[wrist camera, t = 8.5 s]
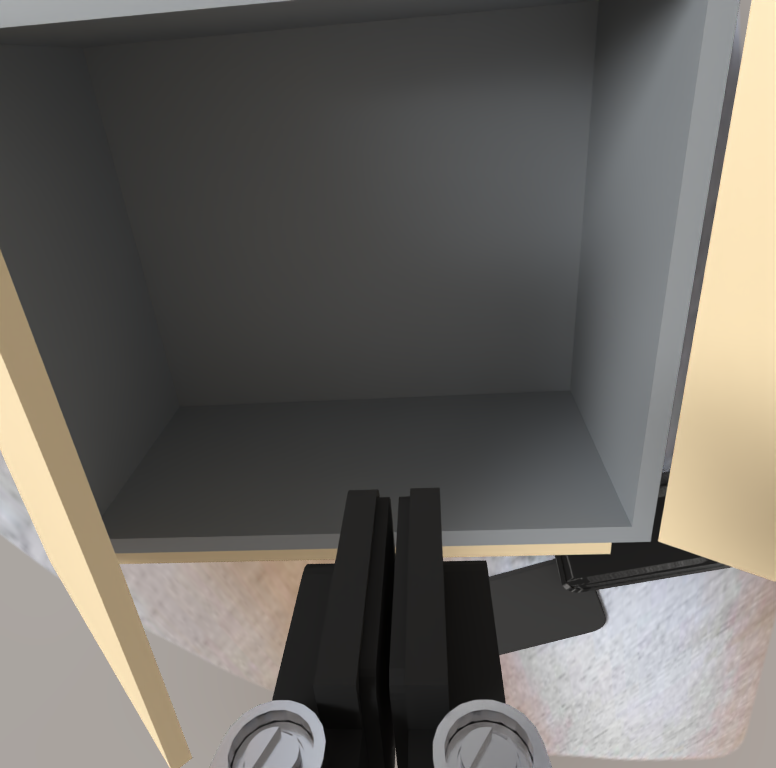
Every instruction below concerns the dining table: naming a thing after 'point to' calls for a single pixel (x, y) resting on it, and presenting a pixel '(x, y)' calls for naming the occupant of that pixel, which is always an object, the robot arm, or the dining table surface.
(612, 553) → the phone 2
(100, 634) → the carton flap
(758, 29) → the carton flap
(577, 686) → the dining table surface
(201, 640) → the dining table surface
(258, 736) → the robot arm
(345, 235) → the carton
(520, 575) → the phone
